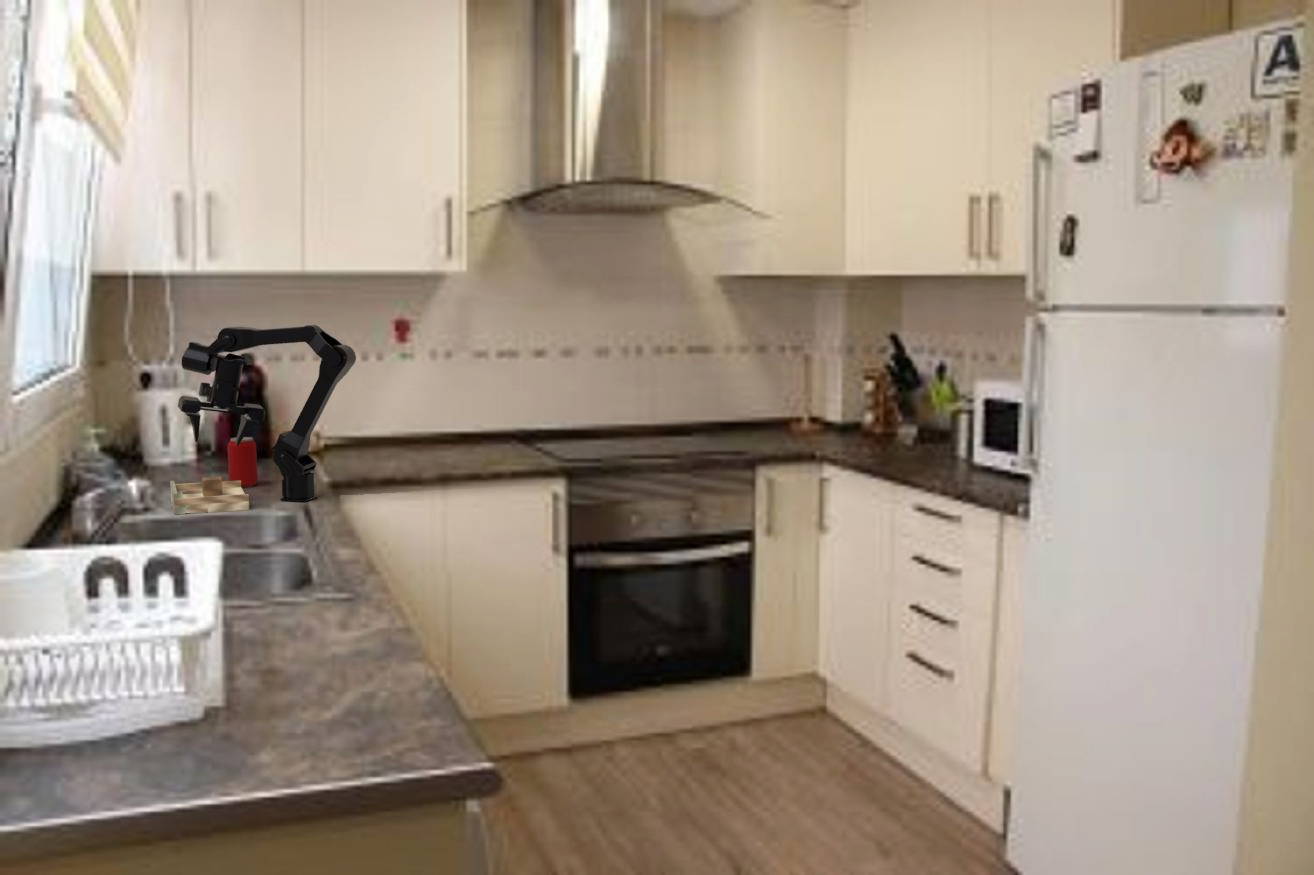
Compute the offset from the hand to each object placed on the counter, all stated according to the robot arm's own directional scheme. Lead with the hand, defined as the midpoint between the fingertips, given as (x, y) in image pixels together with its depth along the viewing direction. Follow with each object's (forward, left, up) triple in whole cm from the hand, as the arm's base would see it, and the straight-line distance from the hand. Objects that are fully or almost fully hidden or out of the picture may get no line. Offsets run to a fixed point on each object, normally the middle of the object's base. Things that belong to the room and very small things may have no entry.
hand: (216, 443), depth 265 cm
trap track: (-3, +8, -13) cm, 16 cm away
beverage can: (+3, -15, -13) cm, 20 cm away
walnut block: (-4, +8, -11) cm, 14 cm away
